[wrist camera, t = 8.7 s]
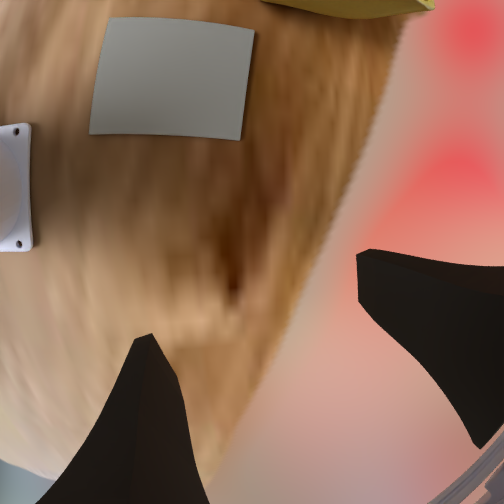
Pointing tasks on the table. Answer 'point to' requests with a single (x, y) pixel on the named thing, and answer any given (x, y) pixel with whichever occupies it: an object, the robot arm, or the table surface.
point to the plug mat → (171, 78)
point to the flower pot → (359, 7)
